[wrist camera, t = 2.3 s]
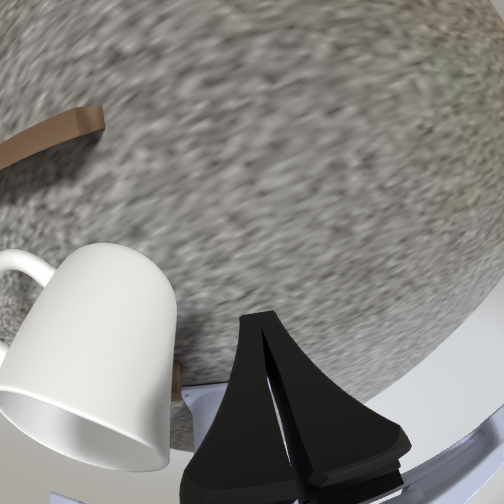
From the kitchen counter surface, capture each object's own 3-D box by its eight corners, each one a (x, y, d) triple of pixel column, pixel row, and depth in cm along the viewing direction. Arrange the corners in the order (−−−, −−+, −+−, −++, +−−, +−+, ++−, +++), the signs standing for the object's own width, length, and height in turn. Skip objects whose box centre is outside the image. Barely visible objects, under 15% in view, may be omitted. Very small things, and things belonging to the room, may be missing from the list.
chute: (181, 369, 20) (181, 400, 18) (26, 368, 19) (18, 389, 16) (102, 105, 10) (75, 107, 8) (-64, 195, 9) (-85, 210, 6)
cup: (137, 354, 19) (122, 476, 10) (10, 264, 13) (-60, 370, 5) (205, 293, 17) (212, 457, 8) (49, 170, 11) (-85, 273, 3)
